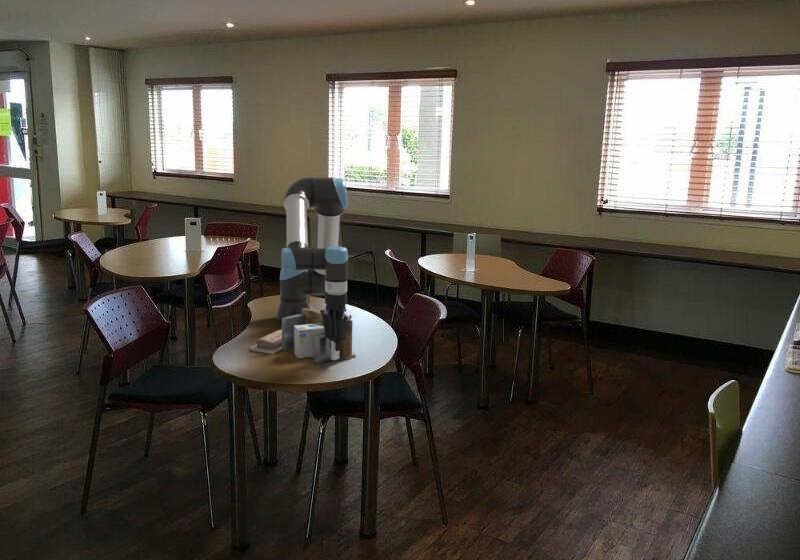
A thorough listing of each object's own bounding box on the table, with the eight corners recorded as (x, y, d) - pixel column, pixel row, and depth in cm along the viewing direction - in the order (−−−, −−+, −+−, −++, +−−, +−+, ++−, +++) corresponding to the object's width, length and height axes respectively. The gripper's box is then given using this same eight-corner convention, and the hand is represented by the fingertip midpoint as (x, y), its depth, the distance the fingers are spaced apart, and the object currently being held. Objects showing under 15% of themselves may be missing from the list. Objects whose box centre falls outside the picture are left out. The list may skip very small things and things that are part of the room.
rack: (281, 349, 241) (281, 312, 238) (307, 342, 251) (308, 307, 248) (329, 365, 226) (330, 326, 223) (355, 357, 235) (356, 319, 233)
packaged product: (276, 326, 255) (298, 330, 251) (276, 338, 256) (298, 342, 252) (249, 338, 239) (273, 342, 235) (249, 351, 239) (273, 355, 236)
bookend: (314, 362, 229) (314, 337, 227) (330, 356, 235) (331, 332, 233) (319, 363, 227) (319, 338, 225) (335, 358, 233) (336, 333, 232)
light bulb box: (321, 350, 242) (321, 322, 240) (327, 356, 236) (327, 327, 234) (293, 353, 238) (293, 324, 236) (298, 359, 232) (298, 329, 230)
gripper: (314, 291, 224) (314, 357, 229) (342, 297, 216) (341, 365, 221) (330, 287, 230) (329, 352, 235) (357, 294, 222) (356, 360, 227)
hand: (335, 358), depth 228 cm, fingers closed
